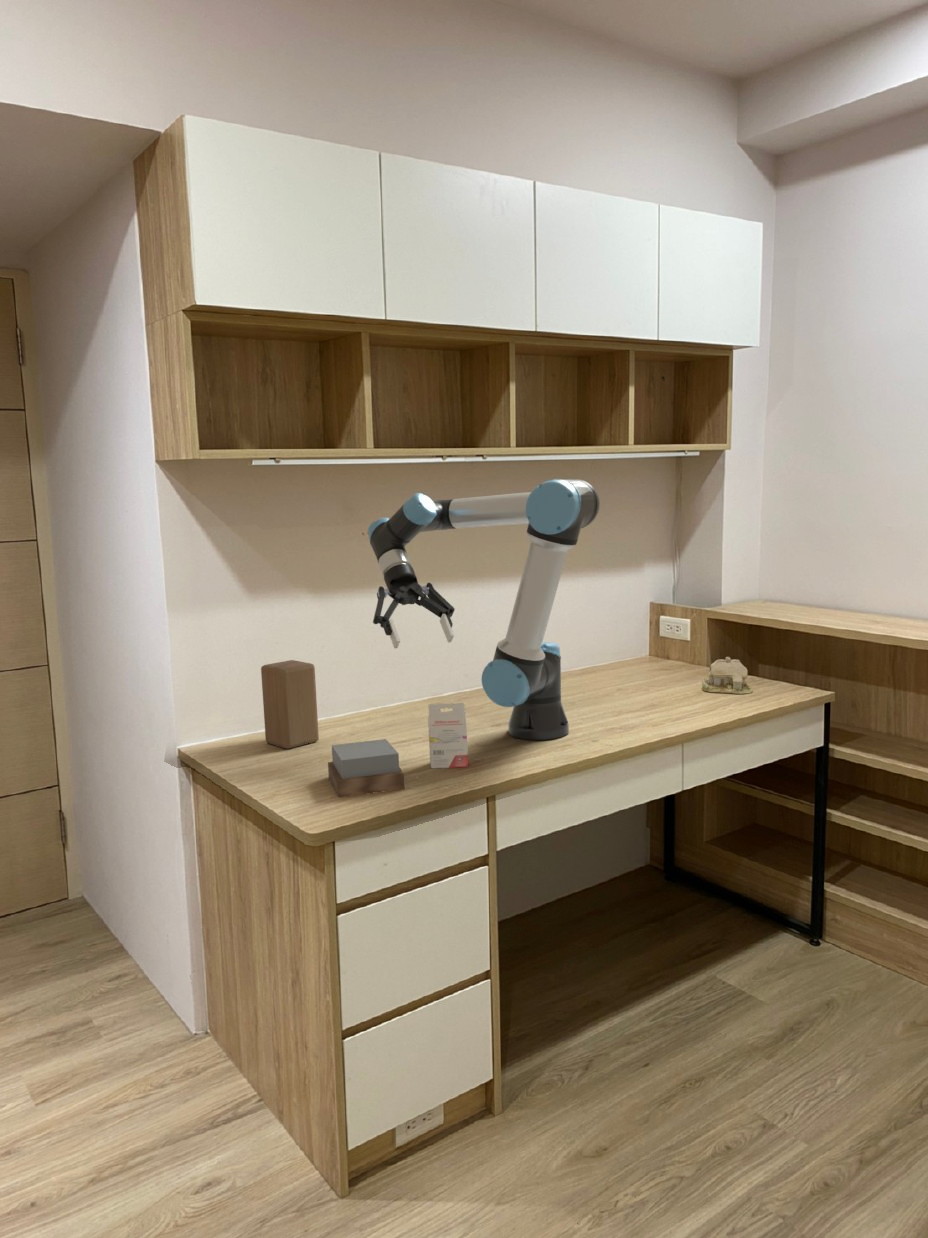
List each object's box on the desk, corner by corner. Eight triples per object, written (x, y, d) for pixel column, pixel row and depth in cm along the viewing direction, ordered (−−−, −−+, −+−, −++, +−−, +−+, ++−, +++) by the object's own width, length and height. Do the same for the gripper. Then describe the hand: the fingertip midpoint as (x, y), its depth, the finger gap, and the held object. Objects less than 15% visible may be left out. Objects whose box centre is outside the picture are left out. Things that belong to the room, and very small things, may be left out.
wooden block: (264, 743, 234) (259, 665, 231) (297, 735, 241) (292, 658, 238) (286, 750, 227) (281, 669, 224) (320, 741, 234) (316, 663, 231)
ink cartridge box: (468, 761, 213) (465, 698, 211) (468, 767, 208) (466, 703, 206) (430, 762, 213) (427, 699, 211) (429, 768, 208) (427, 704, 206)
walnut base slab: (391, 772, 208) (390, 755, 208) (404, 791, 195) (403, 773, 195) (328, 779, 205) (327, 762, 204) (337, 799, 191) (336, 781, 191)
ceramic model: (749, 686, 279) (749, 653, 277) (754, 695, 268) (754, 660, 266) (700, 686, 281) (700, 653, 280) (703, 694, 270) (703, 660, 269)
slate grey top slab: (386, 756, 207) (385, 739, 206) (399, 771, 196) (398, 753, 195) (332, 763, 203) (331, 745, 203) (342, 779, 192) (341, 760, 191)
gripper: (440, 578, 236) (468, 645, 225) (346, 586, 225) (370, 657, 214) (448, 559, 230) (477, 626, 219) (352, 565, 220) (377, 637, 209)
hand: (424, 642), depth 217 cm, fingers open, 13 cm apart
